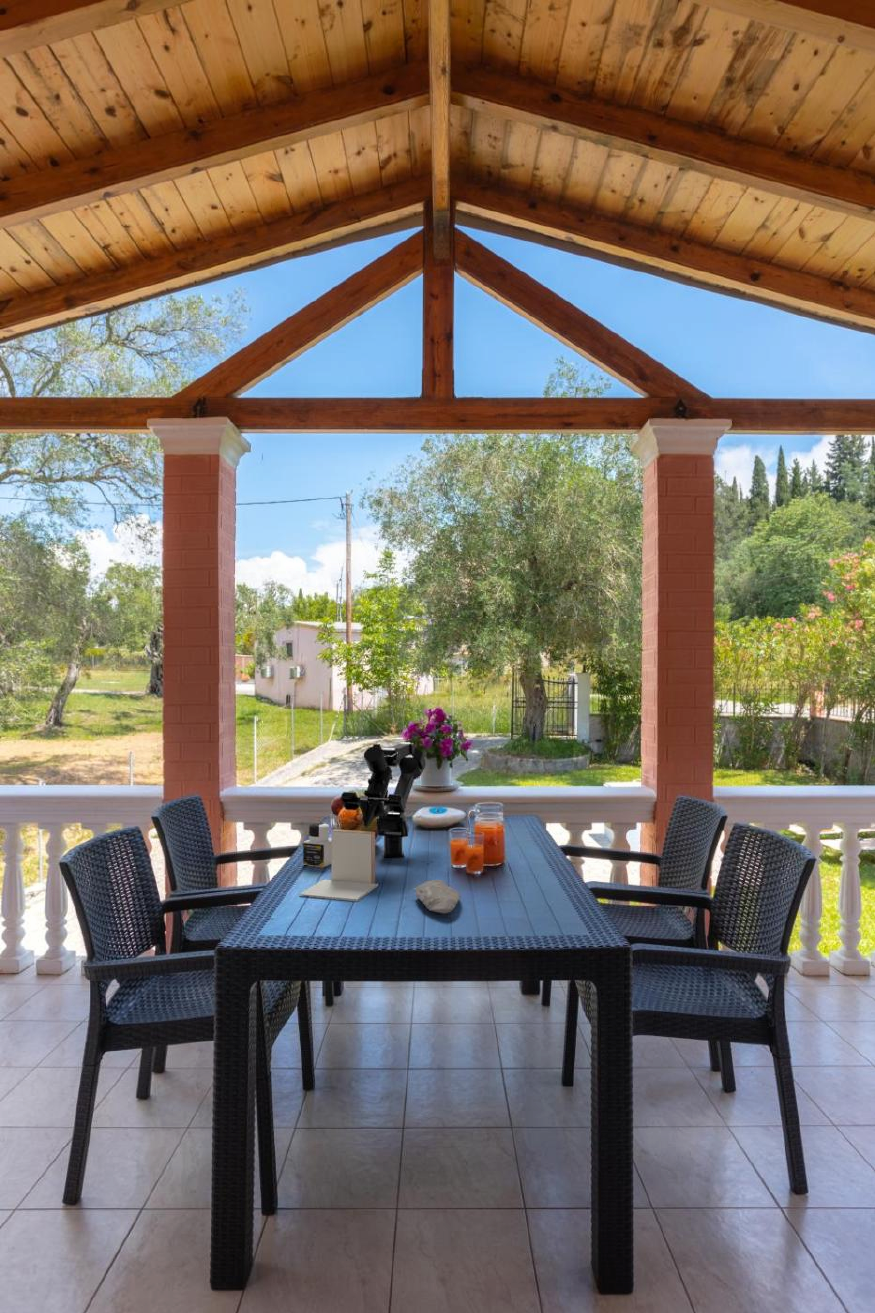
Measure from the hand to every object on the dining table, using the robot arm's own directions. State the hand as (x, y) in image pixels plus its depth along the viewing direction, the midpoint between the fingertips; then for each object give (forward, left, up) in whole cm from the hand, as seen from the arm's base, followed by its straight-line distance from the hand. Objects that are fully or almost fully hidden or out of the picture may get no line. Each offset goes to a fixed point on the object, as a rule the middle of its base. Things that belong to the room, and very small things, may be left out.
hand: (365, 826), depth 236 cm
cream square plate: (+17, -8, -13) cm, 23 cm away
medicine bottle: (-13, -13, -14) cm, 23 cm away
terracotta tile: (+9, -4, -14) cm, 17 cm away
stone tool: (+33, +16, -14) cm, 39 cm away
